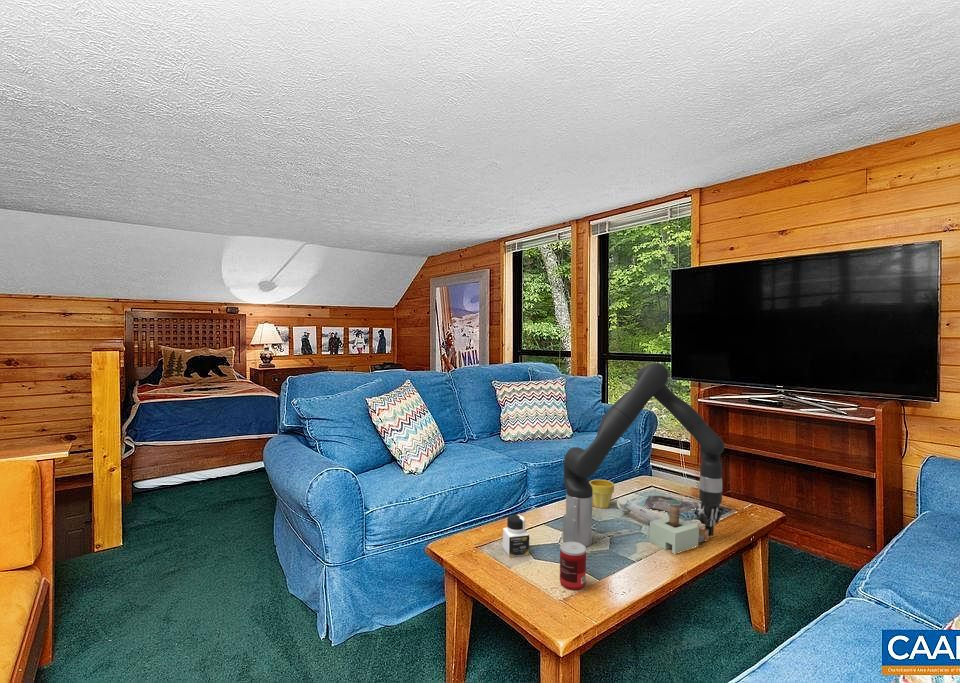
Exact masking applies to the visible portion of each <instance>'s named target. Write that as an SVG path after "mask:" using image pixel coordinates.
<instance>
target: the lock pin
mask: <svg viewBox="0 0 960 683" xmlns="http://www.w3.org/2000/svg"><path fill="white" fill-rule="evenodd" d="M708 534H709V530H708V529H706V528H705V527H701V526H700V527H699V535H698V542H699V543H702V542H704V541H705V540H708V541H709V536H708ZM705 542H706V541H705Z"/></svg>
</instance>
